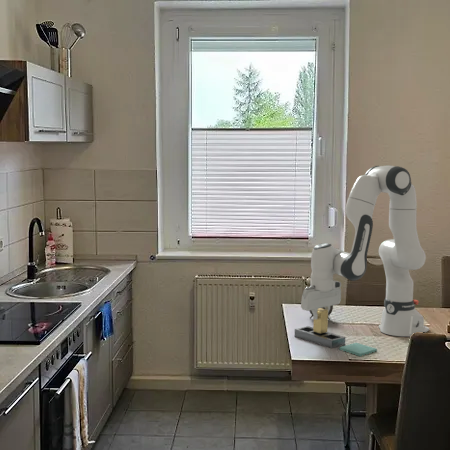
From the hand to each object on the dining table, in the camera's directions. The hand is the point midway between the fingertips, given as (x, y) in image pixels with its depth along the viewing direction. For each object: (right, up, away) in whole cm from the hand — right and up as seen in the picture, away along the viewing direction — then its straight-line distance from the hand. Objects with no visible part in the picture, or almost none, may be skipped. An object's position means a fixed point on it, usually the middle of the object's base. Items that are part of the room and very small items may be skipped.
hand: (320, 318), depth 259 cm
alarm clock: (+5, -6, +32) cm, 33 cm away
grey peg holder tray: (0, -9, +1) cm, 9 cm away
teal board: (+13, -11, -11) cm, 20 cm away
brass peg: (0, -6, +1) cm, 6 cm away
